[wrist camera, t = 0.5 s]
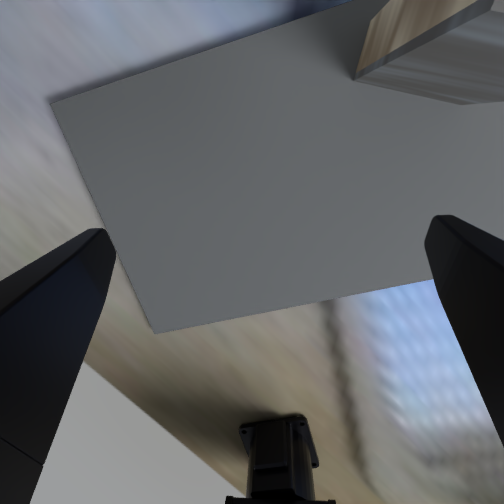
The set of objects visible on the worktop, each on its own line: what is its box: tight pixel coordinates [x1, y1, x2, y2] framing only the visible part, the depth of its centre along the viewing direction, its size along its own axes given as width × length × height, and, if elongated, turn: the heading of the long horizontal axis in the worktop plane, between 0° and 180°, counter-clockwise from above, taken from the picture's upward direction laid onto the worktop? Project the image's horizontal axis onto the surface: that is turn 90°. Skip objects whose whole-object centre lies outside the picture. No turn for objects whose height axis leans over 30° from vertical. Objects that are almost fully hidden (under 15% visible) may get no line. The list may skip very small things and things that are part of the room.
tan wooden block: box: [353, 0, 504, 105], centre depth 12 cm, size 3×6×13 cm, turn 78°
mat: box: [50, 0, 504, 334], centre depth 22 cm, size 18×27×1 cm, turn 105°
